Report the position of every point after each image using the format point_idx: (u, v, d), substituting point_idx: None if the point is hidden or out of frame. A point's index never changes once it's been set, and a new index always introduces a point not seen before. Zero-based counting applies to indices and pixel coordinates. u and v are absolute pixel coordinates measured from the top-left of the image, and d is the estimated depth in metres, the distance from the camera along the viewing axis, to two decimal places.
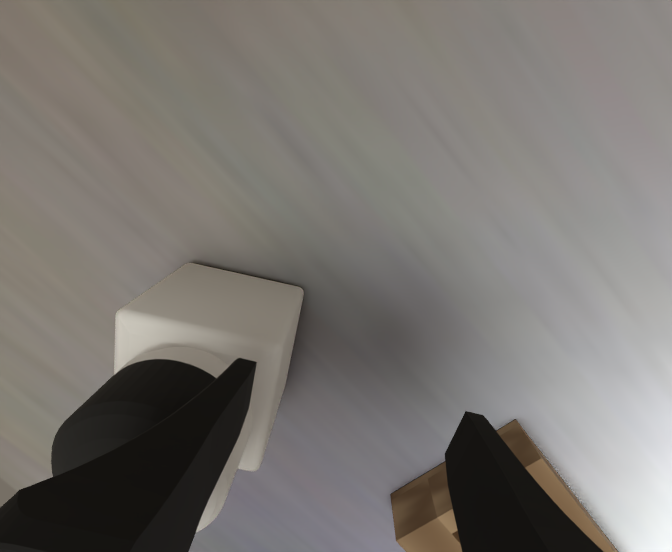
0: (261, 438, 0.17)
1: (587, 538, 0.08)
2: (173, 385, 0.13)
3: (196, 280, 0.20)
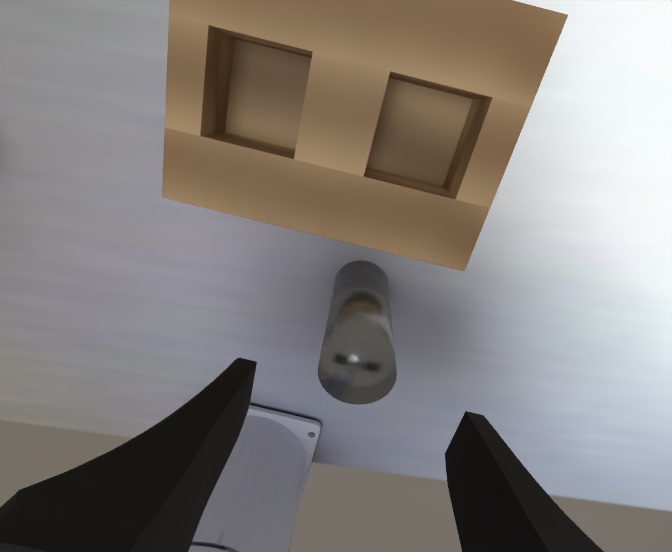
0: None
1: (587, 538, 0.08)
2: None
3: None
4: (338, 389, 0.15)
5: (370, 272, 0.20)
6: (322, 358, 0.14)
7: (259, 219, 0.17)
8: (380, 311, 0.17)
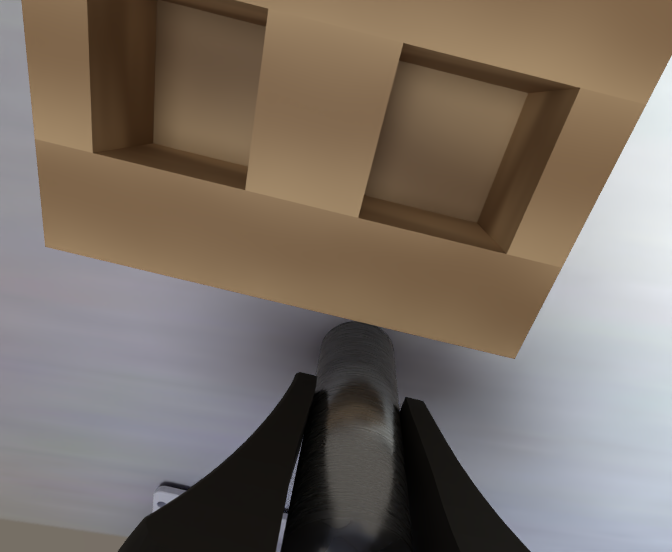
0: None
1: (497, 517, 0.08)
2: None
3: None
4: None
5: (370, 343, 0.14)
6: (286, 541, 0.08)
7: (197, 280, 0.11)
8: (386, 428, 0.11)
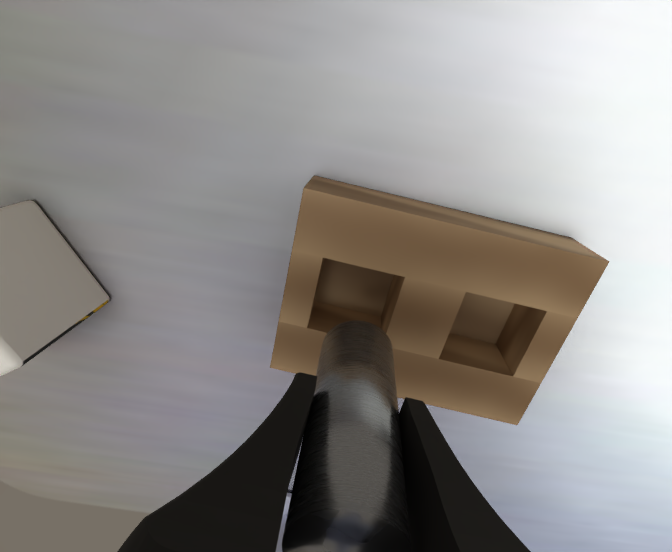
0: None
1: (497, 517, 0.08)
2: None
3: None
4: None
5: (364, 339, 0.14)
6: (285, 536, 0.09)
7: None
8: (377, 419, 0.11)
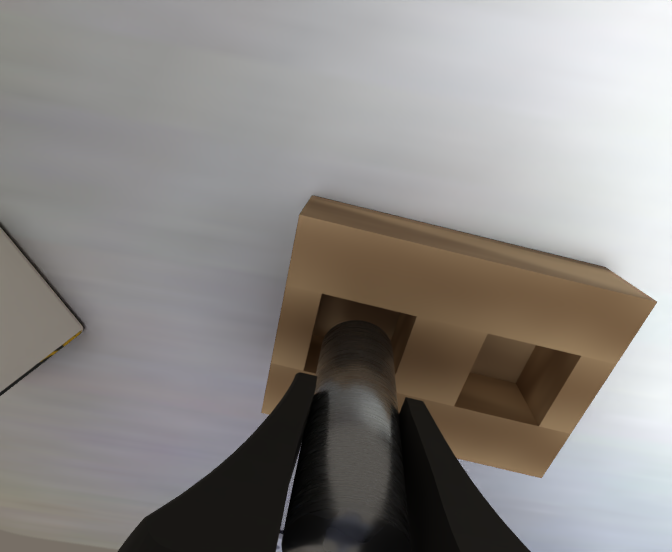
0: None
1: (497, 517, 0.08)
2: None
3: None
4: None
5: (364, 339, 0.14)
6: (284, 536, 0.09)
7: None
8: (377, 419, 0.11)
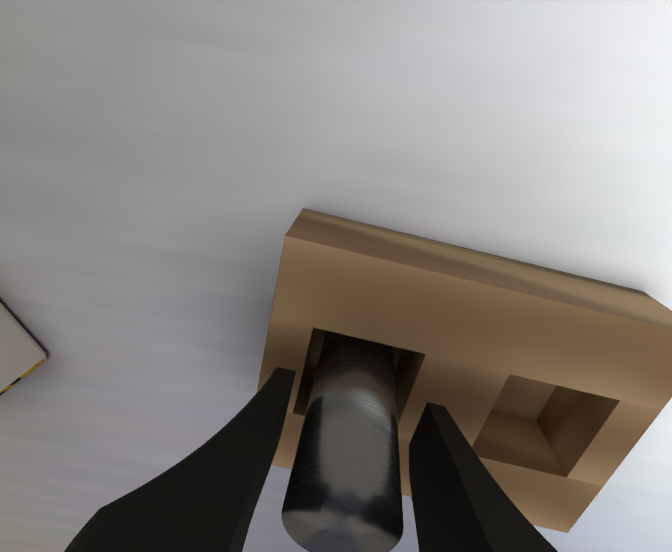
0: None
1: (529, 525, 0.08)
2: None
3: None
4: (319, 543, 0.10)
5: None
6: (284, 506, 0.09)
7: None
8: (375, 402, 0.11)
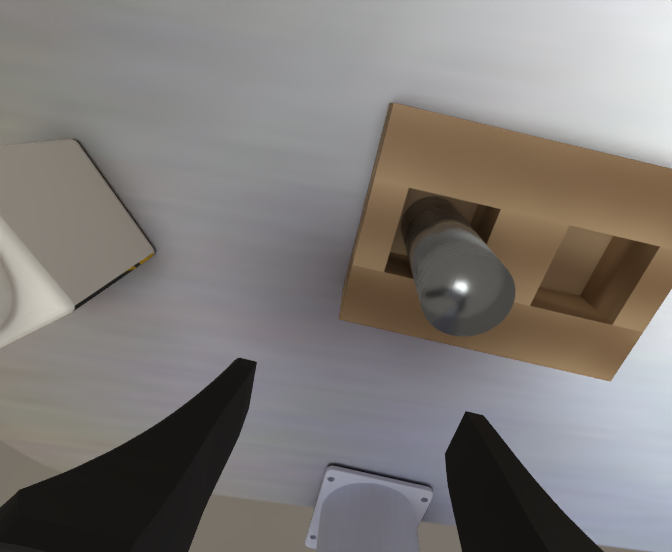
0: (32, 269, 0.15)
1: (587, 538, 0.08)
2: None
3: None
4: (446, 320, 0.13)
5: (443, 203, 0.18)
6: (424, 285, 0.12)
7: (426, 337, 0.19)
8: (473, 232, 0.14)
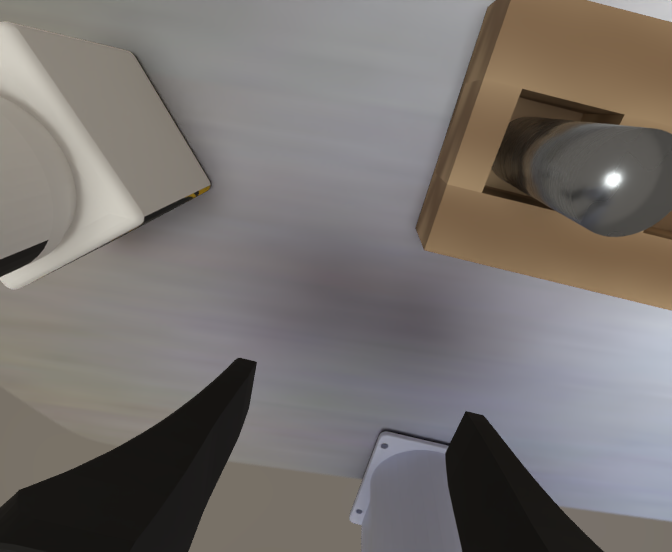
0: (101, 169, 0.13)
1: (587, 538, 0.08)
2: None
3: None
4: (598, 215, 0.11)
5: None
6: (582, 168, 0.11)
7: (520, 272, 0.17)
8: None
